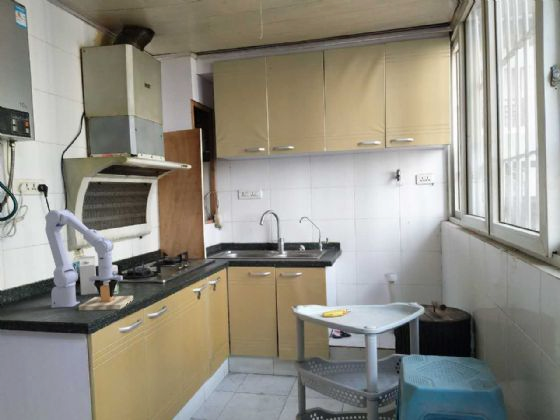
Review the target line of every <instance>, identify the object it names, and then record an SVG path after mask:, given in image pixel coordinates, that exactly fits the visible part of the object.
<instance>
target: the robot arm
mask: <svg viewBox="0 0 560 420" xmlns="http://www.w3.org/2000/svg"><path fill="white" fill-rule="evenodd" d="M44 218H45V221H46V223H45V233H46V236H47V241H48V244H49V247H50V251H51V255H52V259H53V262H54V265H55V268H54V270H53V284H54V285H55V286H54V287H52V289H51V293H50V294H51V295H50V296H51V306H50V308H52V309H54V308H55V309H56V308H72V307H75V306H77V305H79V304H80V303H81V302H80V301H77V294H76V284H77V283H76V282H77V281H78V278H79V274H78V272H77V271H76V270H75V268H74V266H73V265H72V264H70V262H69V257H68V254H67V252H66V248H65V244H64V241H63V238H62V234H61V230H62V229H63V227H64V226H66V225H67V226H70V227H72V228H73V229H74V230H76V232H79V233H80V234H81V235H83V236H82V237H83V239H84V240H85V241H86V243H88V244H90V245H91V246H92V247H93V248H94V250H95V252H96V255H97V265H98V275H96V276H93V277H89V282H91V281H95V283H94V285H95V286H96V289H97V292H98V295H99V297H101V293H100V286H102V285H103V283H104V281H110V282H108V284H109V288H110V297H112V296H114V295H115V294H114V290H115V287H116V284H117V282H118V283H119V281H123V278H124V277H123V275H119V274H118V275H112V265H113V261H112V260H113V258H112V251H113V250H114V243H113V241H112V240H110V239H106V237H104V236H102V235H101V234H99V232H98V230H97V229H93V228H91V229H89V227H87V226H86V225H85V224H84V223H83V222H81V221H80V220H79V219H78V217H76V216H75V214H74V212H73V213H72V212H71V211H70V210H69V209H65V208H64V209H51V210H49V211H48V212H47V214H46V215H45V216H44Z"/></svg>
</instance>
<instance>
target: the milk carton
mask: <svg viewBox="0 0 560 420" xmlns="http://www.w3.org/2000/svg"><path fill="white" fill-rule="evenodd" d="M96 270H97V269H96V258H95V256H94V255H90V256H79V278H80V279H79V282H80V283H79V284H80V295H81V296H84V295H94V294H95V295H96V294H97V292H98V290H97V288H96V286H95V285H94V283H95V281H91V282H89V277H93V276H97V274H96Z"/></svg>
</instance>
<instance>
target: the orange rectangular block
mask: <svg viewBox="0 0 560 420" xmlns="http://www.w3.org/2000/svg"><path fill="white" fill-rule="evenodd" d="M100 293H101V302H112V301H113V296H114V295H113V296H112V297H110V288H109V285H102V286H100Z"/></svg>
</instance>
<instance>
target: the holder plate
mask: <svg viewBox="0 0 560 420" xmlns="http://www.w3.org/2000/svg"><path fill="white" fill-rule="evenodd" d="M133 300H134V295H116V296H114V295H113V301H112V302H101V297H100V296H94V297H93V298H92V297H91V299H89V300H87V301H85V302H84V303H82V304H80V305H78V312H82V311H85V312H86V311H104V310H106V311H107V310H108V311H109V310H121V309H123V308H124V307H126V306H127V305H128V304H130V303H131V302H133ZM130 301H131V302H130ZM127 303H128V304H127ZM126 304H127V305H126Z"/></svg>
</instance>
